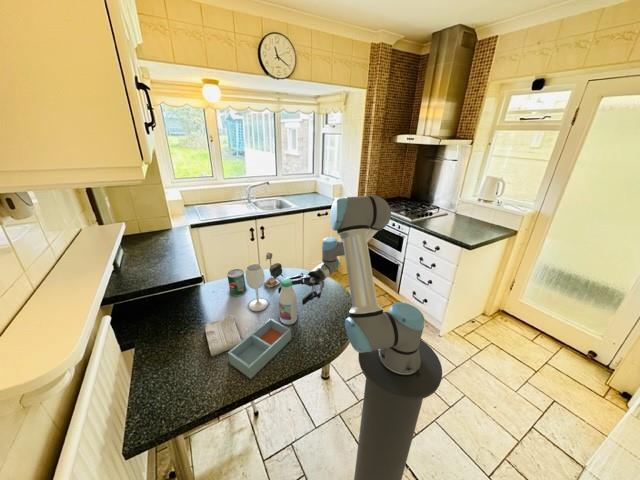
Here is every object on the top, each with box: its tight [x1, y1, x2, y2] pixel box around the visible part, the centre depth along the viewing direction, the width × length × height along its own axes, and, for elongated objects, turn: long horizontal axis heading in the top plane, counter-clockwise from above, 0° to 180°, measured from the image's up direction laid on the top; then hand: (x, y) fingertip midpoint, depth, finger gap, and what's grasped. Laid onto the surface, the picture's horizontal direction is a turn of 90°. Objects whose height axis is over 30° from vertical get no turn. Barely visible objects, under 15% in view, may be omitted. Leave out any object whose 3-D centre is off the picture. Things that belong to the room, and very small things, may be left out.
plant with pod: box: [264, 252, 284, 288], centre depth 135 cm, size 8×11×20 cm
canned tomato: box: [226, 268, 247, 297], centre depth 130 cm, size 8×8×11 cm
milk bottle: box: [278, 277, 298, 325], centre depth 109 cm, size 8×8×20 cm
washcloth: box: [204, 315, 242, 357], centre depth 103 cm, size 12×18×3 cm, turn 30°
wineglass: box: [245, 263, 269, 312], centre depth 117 cm, size 9×9×21 cm
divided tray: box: [227, 317, 292, 380], centre depth 96 cm, size 11×21×5 cm, turn 146°
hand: (290, 296), depth 111 cm, fingers open, 13 cm apart
